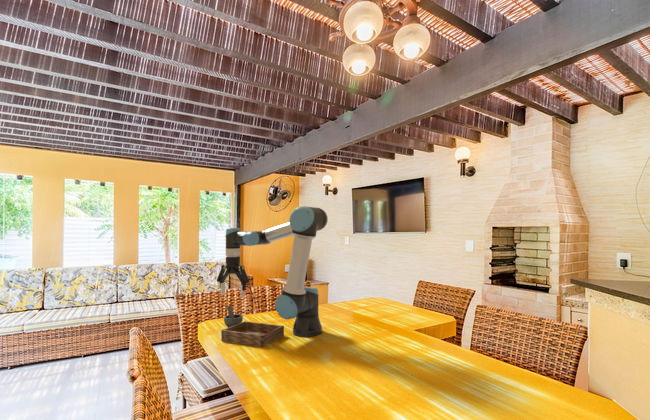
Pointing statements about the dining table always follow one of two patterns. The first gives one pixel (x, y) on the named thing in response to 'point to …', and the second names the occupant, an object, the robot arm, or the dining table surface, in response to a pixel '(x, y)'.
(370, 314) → the dining table surface
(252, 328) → the crate
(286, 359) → the dining table surface
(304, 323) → the robot arm
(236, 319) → the mortar and pestle
